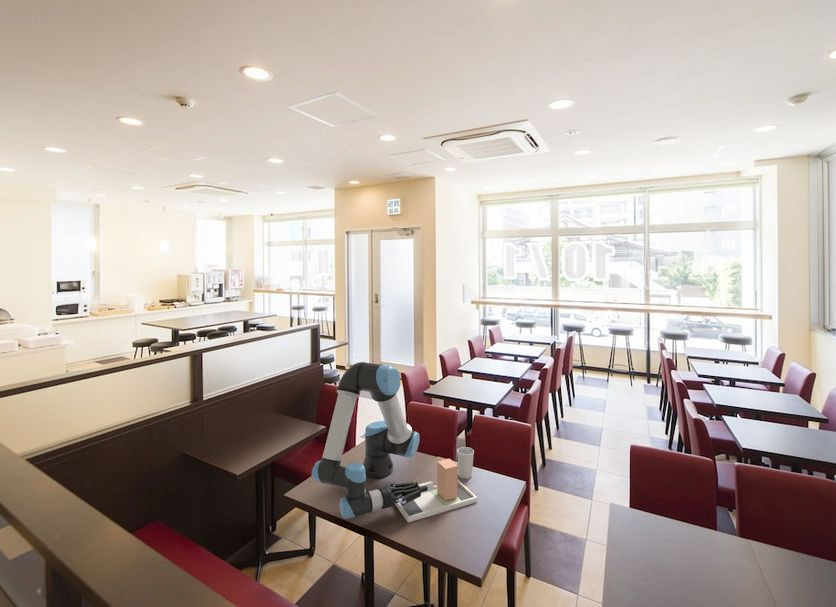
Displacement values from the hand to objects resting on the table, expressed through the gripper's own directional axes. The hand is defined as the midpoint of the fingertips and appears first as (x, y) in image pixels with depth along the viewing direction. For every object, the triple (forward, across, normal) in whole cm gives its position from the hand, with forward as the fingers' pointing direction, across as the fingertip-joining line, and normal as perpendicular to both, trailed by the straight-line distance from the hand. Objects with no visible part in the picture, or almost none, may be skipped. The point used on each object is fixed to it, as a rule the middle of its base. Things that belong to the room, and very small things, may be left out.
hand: (432, 484), depth 169 cm
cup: (+25, -13, -8) cm, 29 cm away
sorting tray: (+1, -1, -8) cm, 8 cm away
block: (+7, 0, -7) cm, 10 cm away
